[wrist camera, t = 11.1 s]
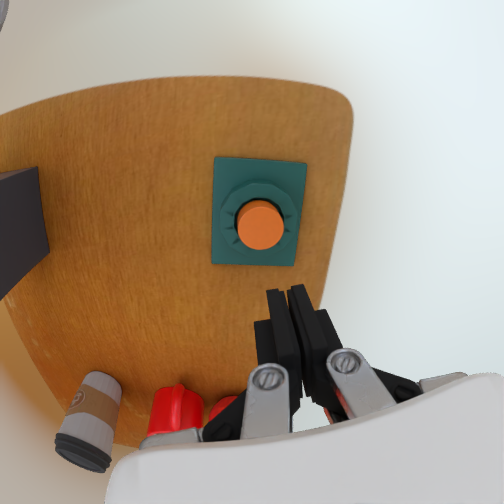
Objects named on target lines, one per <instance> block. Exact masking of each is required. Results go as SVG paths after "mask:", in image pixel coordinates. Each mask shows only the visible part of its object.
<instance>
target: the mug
mask: <svg viewBox="0 0 504 504" xmlns="http://www.w3.org/2000/svg"><path fill="white" fill-rule="evenodd" d="M203 417H204V401H203V399H202V398H201V397H200V396H199V395H198V394H196V393H195V392H193V391H190V390H187V389H185V387H184V386H183V384H181V383H177V384H176V385H175V386H174V387H165V388H162V389H159V390H158V391H157V392H156V393H155V395H154V400H153V405H152V410H151V415H150V421H149V426H148V431H147V437H149V436H152V435H157V434H163V433H169V432H174V431H179V430H184V429H188V428H193V427H196V428H197V429H199V428H203Z"/></svg>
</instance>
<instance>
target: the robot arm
mask: <svg viewBox="0 0 504 504" xmlns="http://www.w3.org/2000/svg"><path fill="white" fill-rule="evenodd" d="M266 293H267V300H268V306H269V313H270V319H268V320H261V321H255V322H254V330H255V339H256V349H257V359H258V366H257V367H256V368H254V369H253V370H252V371H251V373H250V375H249V377H248V384H247V389H245V390H244V391H243V392H242V393H241V394H240V395H239V396H238V397H237V398H236V399H235V400H233V401H232V402H231V403H230V404H229V405H228V406H227V407H226V408H225V409H223V410H222V411H221V412H220V413H219V414H218V415H217V416H215V417H214V418H213V419H212V420H211V421H209V422H208V423H207V424H206V426H205V427H203V428H199V429H197V428H196V427H193V428H188V429H184V430H179V431H174V432H169V433H163V434H157V435H152V436H149V437H146V438H145V439H144V440H142V442H141V444H140V446H139V450H138V451H135V452H132V453H130V454H128V455H126V456H124V457H123V458H122V459H120V461H119V462H118V463H117V464H116V466H115V468H114V470H113V472H112V474H111V477H110V480H109V484H108V487H107V492H106V496H105V502H104V504H504V377H503V376H501V375H499V374H496V373H479V374H473V375H469V376H468V375H467V374H466V373H463V372H456V373H451V374H446V375H442V376H437V377H432V378H427V379H421V380H420V381H419V382H417V383H415V382H413V381H411V380H409V379H406V378H402V377H399V376H396V375H393V374H390V373H387V372H384V371H381V370H378V369H375V368H373V367H371V366H370V365H369V364H368V362H367V361H366V359H365V358H364V357H363V355H362V354H361V353H360V352H358V351H357V350H354V349H351V348H343V346H342V344H341V342H340V339H339V338H338V335H337V333H336V330H335V328H334V326H333V324H332V321H331V319H330V317H329V315H328V313H327V311H326V309H321V310H317V311H314V309H313V306H312V304H311V301H310V299H309V296H308V294H307V292H306V289H305V287H304V285H303V284H300V285H294V286H291V289H290V290H287V297H288V305H287V302H286V298H285V295H284V291H279V290H278V288H277V289H272V290H266ZM288 306H289V309H288ZM302 381H303V385H304V390H305V393H306V397H310V396H311V398H312V402H313V403H314V402H316V404H318V405H320V406H322V407H323V408H324V412H325V414H326V416H327V418H328V420H329V422H330V424H331V425H327V426H323V427H319V428H314V429H310V430H305V431H300V432H294V433H293V415H294V413H295V412H296V411H297V410H298V409H299V408H300V398H303V393H302Z"/></svg>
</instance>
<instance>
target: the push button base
mask: <svg viewBox="0 0 504 504" xmlns="http://www.w3.org/2000/svg"><path fill="white" fill-rule="evenodd" d="M306 171H307V164H306V163H299V162H289V161H278V160H266V159H251V158H233V157H215V158H214V177H213V206H212V264H239V265H270V266H294V260H295V253H296V247H297V240H298V233H299V226H300V219H301V211H302V204H303V196H304V188H305V180H306ZM255 200H263V201H267V202H269V203H271V204H272V205H273V206H274V207H275V208H276V209H277V211H278V212H279V214H280V216H281V218H282V221H283V224H284V230H283V234H282V237H281V238H280V240H279V241H278V242H277V243H276V244H275V245H274V246H272V247H270V248H268V249H263V250H256V249H252V248H250V247H248V246H246V245H245V244H244V243H243V242H242V241H241V239H240V237H239V234H238V225H237V218H238V214H239V212H240V210H241V209H242V208H243V207H244V206H245V205H246V204H247V203H249V202H252V201H255Z"/></svg>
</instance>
